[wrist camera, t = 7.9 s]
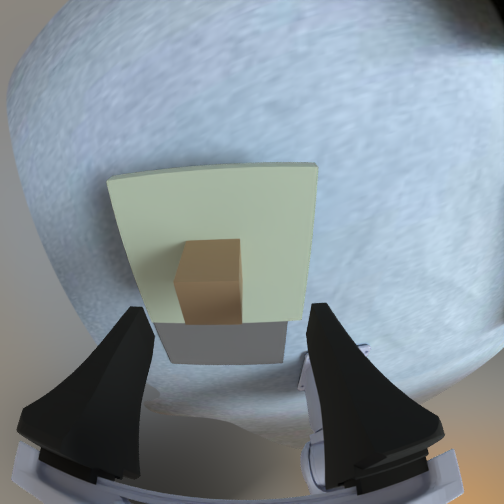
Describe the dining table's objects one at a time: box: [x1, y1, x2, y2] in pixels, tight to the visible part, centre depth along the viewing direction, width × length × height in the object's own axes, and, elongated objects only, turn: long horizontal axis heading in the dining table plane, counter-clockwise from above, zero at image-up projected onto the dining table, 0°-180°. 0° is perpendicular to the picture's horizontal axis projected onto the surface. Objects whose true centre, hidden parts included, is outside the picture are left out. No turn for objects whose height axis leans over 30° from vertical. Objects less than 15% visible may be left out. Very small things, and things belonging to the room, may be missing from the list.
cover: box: [106, 162, 318, 325], centre depth 15 cm, size 11×11×4 cm
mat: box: [154, 321, 288, 365], centre depth 26 cm, size 13×13×1 cm
